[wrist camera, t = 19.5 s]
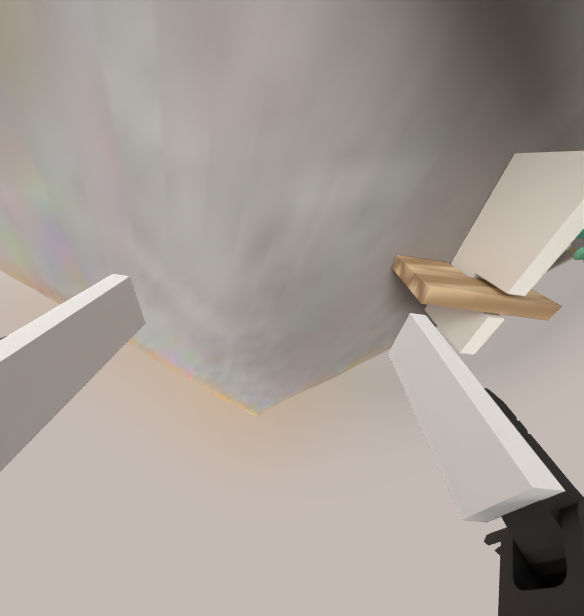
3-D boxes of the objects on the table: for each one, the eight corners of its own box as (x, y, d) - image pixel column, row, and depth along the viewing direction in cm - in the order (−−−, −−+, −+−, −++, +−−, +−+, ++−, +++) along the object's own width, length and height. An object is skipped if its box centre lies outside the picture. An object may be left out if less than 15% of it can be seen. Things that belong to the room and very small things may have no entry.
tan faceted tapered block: (396, 254, 38) (429, 288, 28) (495, 268, 38) (562, 306, 28) (391, 267, 39) (421, 303, 29) (486, 280, 40) (547, 320, 30)
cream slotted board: (514, 153, 29) (623, 149, 19) (531, 156, 29) (648, 153, 19) (424, 309, 44) (459, 352, 34) (435, 311, 44) (474, 354, 34)
